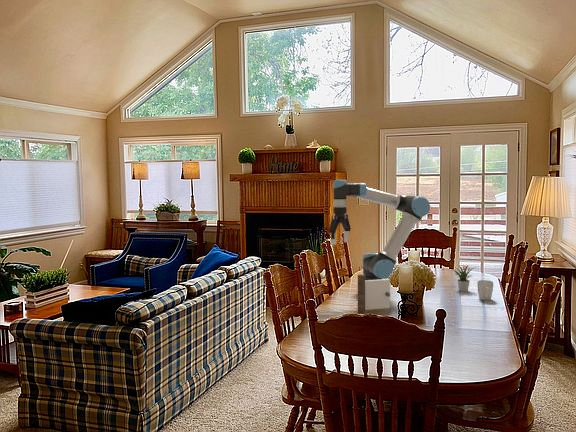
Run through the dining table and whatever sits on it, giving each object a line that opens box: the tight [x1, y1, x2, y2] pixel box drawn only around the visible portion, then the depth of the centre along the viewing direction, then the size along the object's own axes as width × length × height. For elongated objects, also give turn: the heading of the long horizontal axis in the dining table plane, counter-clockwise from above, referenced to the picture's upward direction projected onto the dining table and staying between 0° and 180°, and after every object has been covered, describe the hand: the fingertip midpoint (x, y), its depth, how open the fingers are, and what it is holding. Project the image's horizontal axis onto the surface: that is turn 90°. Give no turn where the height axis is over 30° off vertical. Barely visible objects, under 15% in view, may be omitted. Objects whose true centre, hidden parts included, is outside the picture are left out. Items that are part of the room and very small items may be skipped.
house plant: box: [453, 264, 476, 292], centre depth 315 cm, size 14×14×16 cm
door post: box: [357, 273, 366, 315], centre depth 264 cm, size 2×3×20 cm
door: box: [365, 278, 391, 311], centre depth 266 cm, size 14×3×15 cm, turn 105°
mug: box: [477, 279, 494, 301], centre depth 291 cm, size 11×8×10 cm
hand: (340, 243), depth 297 cm, fingers open, 13 cm apart
